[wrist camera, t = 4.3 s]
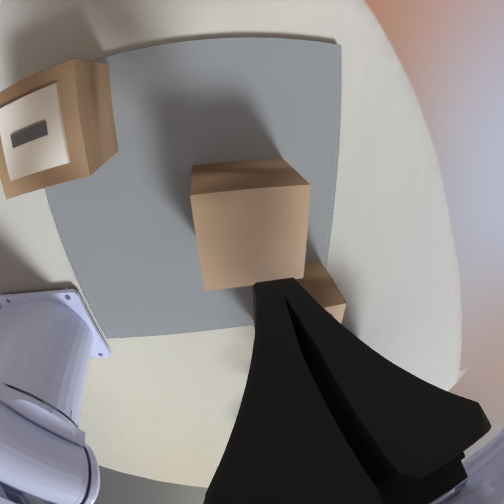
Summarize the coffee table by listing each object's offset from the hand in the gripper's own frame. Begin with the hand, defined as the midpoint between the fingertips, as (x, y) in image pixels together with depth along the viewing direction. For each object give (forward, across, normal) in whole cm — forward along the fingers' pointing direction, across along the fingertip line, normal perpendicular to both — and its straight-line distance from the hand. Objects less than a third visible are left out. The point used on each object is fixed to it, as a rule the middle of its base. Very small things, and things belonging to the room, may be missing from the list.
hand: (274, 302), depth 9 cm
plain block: (+8, 0, 0) cm, 8 cm away
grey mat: (+9, +3, 0) cm, 9 cm away
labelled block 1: (+8, +9, -6) cm, 14 cm away
